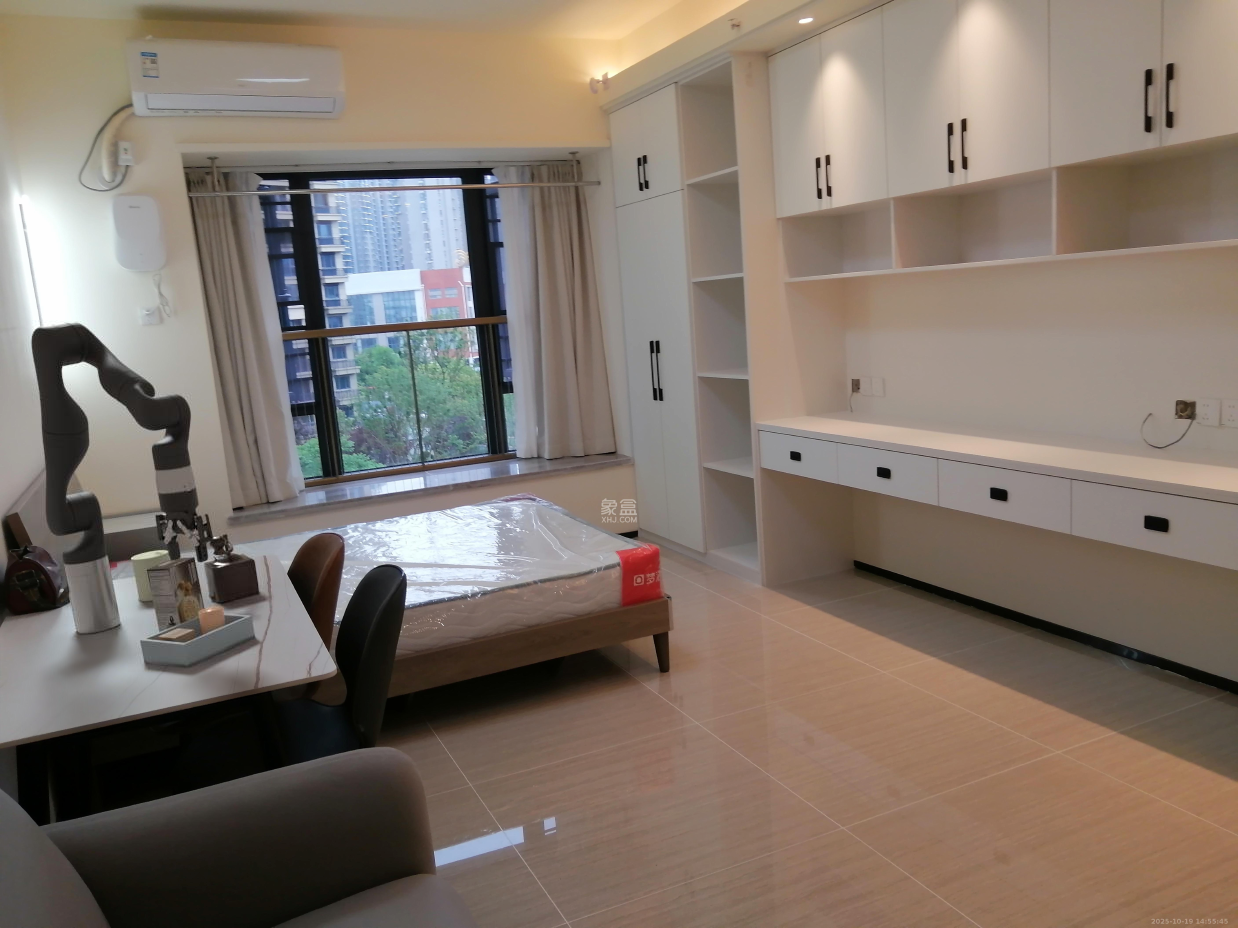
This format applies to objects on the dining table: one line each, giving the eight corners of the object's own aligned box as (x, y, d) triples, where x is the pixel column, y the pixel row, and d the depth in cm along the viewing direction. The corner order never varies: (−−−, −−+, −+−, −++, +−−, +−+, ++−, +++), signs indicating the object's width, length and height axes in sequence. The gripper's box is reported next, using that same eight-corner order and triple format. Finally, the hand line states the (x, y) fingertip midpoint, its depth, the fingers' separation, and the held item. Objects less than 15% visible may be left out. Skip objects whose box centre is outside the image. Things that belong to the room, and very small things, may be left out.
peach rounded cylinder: (198, 643, 204) (193, 612, 203) (216, 635, 208) (211, 605, 207) (214, 644, 202) (209, 614, 201) (232, 637, 206) (227, 606, 205)
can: (165, 599, 246) (157, 555, 244) (131, 602, 246) (123, 559, 244) (182, 589, 255) (174, 546, 253) (149, 592, 255) (141, 550, 253)
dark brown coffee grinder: (206, 597, 244) (193, 531, 241) (249, 586, 250) (237, 521, 247) (222, 608, 231) (210, 539, 228) (267, 597, 238) (255, 529, 235)
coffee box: (184, 621, 224) (172, 557, 221) (207, 621, 222) (196, 556, 220) (158, 635, 215) (145, 568, 212) (182, 634, 213) (170, 567, 211)
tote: (144, 662, 197) (139, 639, 196) (212, 633, 212) (208, 612, 212) (188, 667, 191) (183, 644, 190) (255, 637, 206) (251, 615, 206)
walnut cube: (162, 658, 196) (158, 636, 195) (182, 650, 201) (178, 628, 200) (178, 660, 194) (174, 638, 193) (198, 651, 198) (194, 629, 197)
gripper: (138, 491, 200) (152, 563, 202) (185, 492, 193) (197, 567, 196) (168, 483, 206) (181, 553, 209) (214, 484, 200) (226, 557, 203)
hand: (189, 560), depth 203 cm, fingers open, 8 cm apart
